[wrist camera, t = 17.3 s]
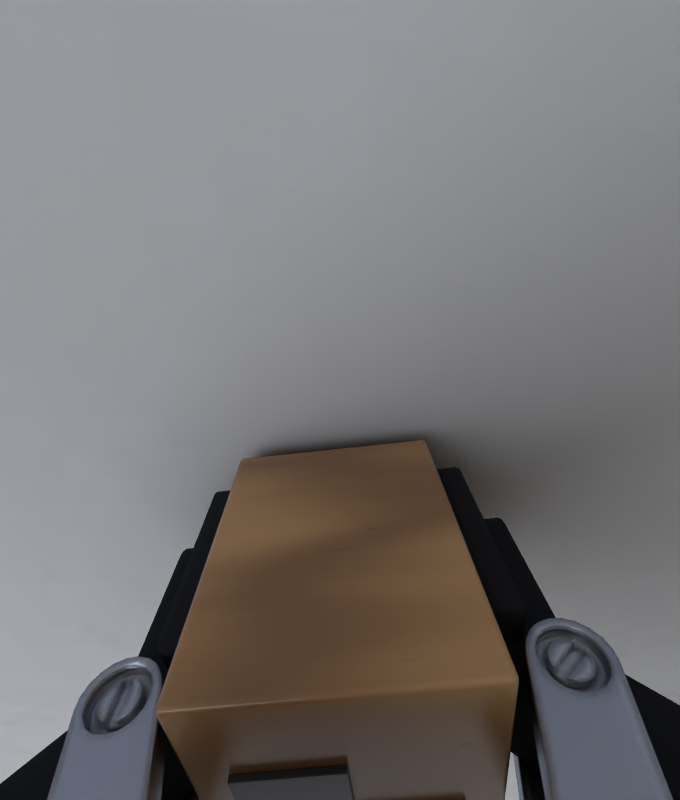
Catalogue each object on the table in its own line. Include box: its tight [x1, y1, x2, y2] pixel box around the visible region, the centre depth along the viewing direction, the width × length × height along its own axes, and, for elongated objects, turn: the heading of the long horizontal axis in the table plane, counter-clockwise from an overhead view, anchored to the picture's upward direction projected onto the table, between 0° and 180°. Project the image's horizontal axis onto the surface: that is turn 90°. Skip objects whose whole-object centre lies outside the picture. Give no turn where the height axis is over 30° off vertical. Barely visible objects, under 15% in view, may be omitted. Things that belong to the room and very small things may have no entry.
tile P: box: [156, 440, 519, 800], centre depth 8 cm, size 4×4×6 cm
